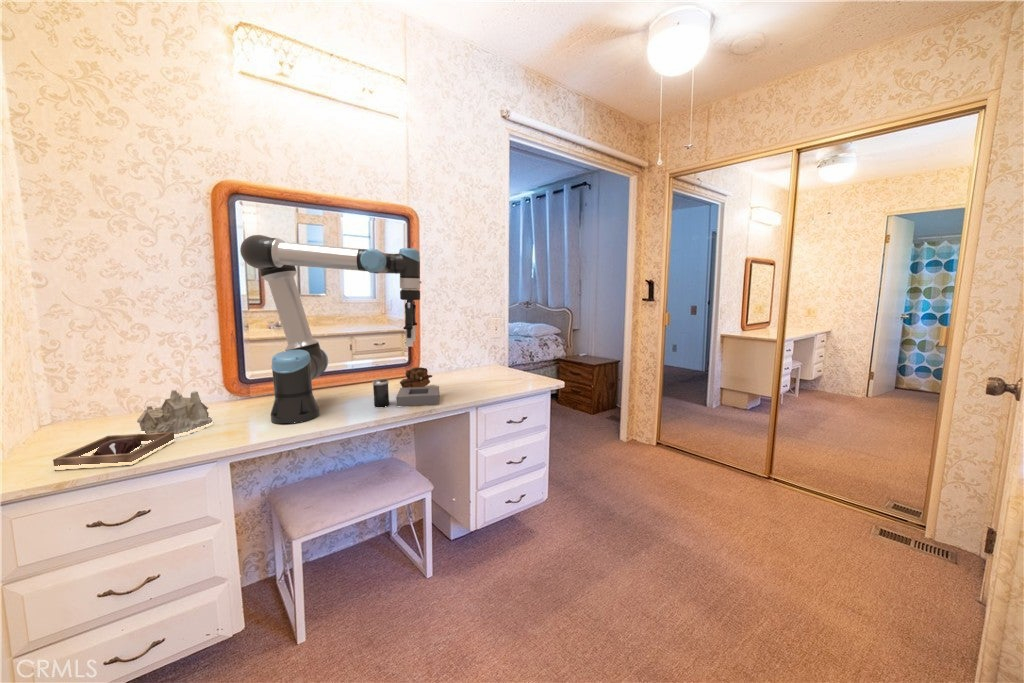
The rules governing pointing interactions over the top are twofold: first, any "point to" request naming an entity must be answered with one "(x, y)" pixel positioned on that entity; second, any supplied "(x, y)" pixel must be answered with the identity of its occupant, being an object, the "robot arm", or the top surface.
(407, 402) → the grey recessed frame block
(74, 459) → the frame
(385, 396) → the lens
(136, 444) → the heart ornament
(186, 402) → the ceramic cottage
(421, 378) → the wooden carving
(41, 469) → the top surface
